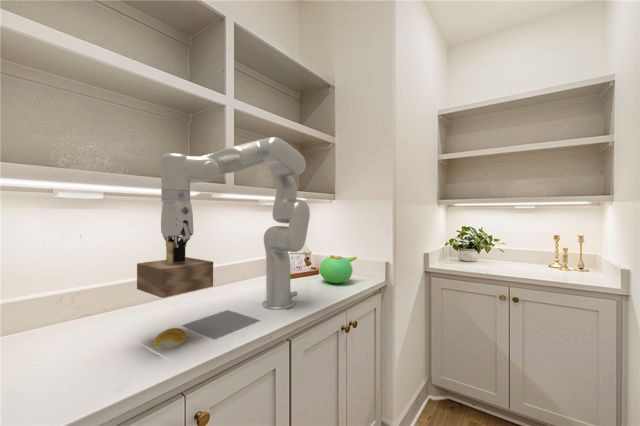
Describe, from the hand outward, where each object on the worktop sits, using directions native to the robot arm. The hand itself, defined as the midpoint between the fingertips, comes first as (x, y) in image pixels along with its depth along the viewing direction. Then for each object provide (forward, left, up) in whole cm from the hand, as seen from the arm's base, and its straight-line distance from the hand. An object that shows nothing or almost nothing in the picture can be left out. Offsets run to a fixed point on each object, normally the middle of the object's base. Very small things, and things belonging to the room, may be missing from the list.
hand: (175, 260), depth 85 cm
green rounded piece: (-85, +1, -24) cm, 89 cm away
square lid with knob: (0, 0, -8) cm, 8 cm away
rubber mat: (-15, 0, -24) cm, 28 cm away
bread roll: (+2, 0, -24) cm, 24 cm away
